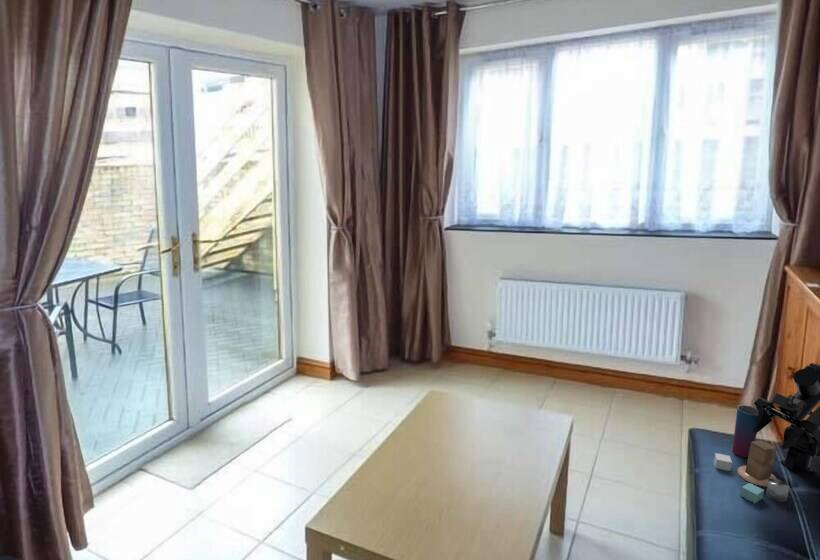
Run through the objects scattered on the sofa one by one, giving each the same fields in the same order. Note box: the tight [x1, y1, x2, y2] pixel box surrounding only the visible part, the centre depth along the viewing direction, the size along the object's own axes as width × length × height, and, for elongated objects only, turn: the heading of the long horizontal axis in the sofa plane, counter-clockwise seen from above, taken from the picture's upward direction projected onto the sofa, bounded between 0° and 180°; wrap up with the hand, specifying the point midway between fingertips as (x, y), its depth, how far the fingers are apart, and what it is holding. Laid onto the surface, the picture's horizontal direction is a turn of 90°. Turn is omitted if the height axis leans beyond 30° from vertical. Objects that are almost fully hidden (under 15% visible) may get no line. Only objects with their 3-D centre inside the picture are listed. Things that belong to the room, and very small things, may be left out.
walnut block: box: [745, 439, 777, 481], centre depth 164 cm, size 4×4×10 cm
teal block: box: [739, 482, 765, 504], centre depth 155 cm, size 4×4×3 cm
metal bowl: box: [765, 478, 790, 503], centre depth 156 cm, size 5×5×4 cm
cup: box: [732, 404, 758, 458], centre depth 176 cm, size 7×7×15 cm
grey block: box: [713, 452, 733, 472], centre depth 170 cm, size 4×4×3 cm
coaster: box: [737, 465, 778, 488], centre depth 165 cm, size 10×10×1 cm
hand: (767, 440), depth 163 cm, fingers open, 9 cm apart
